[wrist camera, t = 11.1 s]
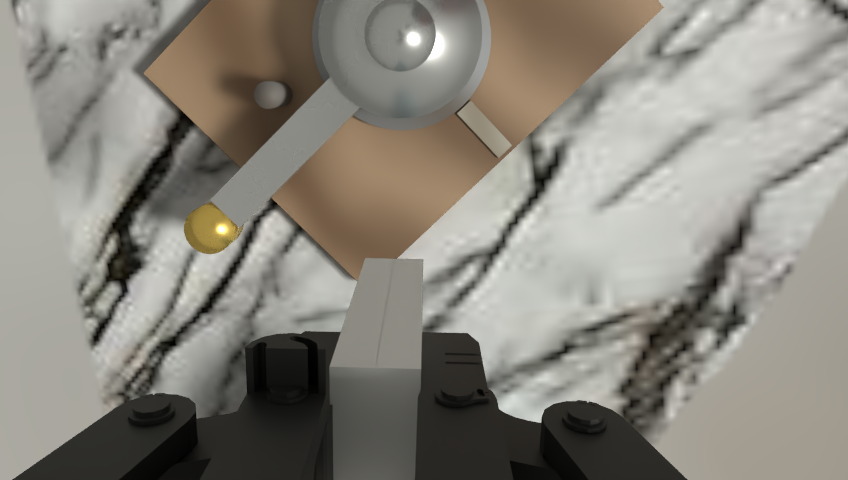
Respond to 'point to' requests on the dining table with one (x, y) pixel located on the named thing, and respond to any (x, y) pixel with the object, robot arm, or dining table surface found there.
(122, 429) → the robot arm
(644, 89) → the dining table surface
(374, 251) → the post board
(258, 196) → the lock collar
